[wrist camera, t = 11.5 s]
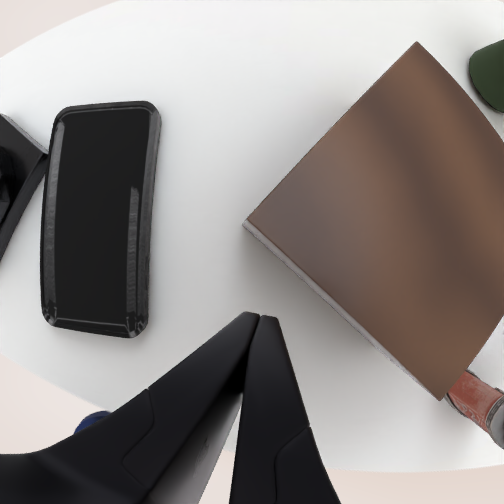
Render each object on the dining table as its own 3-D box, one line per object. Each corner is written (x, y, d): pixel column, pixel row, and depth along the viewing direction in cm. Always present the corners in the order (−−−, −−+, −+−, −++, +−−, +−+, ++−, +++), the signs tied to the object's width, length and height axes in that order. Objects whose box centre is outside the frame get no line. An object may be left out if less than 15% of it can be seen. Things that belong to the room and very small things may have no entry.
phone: (42, 324, 19) (56, 108, 18) (50, 320, 20) (63, 112, 19) (145, 340, 19) (161, 100, 18) (150, 335, 20) (165, 106, 19)
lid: (409, 47, 12) (417, 40, 11) (541, 223, 13) (550, 223, 12) (245, 220, 12) (246, 219, 12) (432, 395, 13) (440, 401, 13)
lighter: (490, 394, 22) (556, 438, 12) (468, 422, 22) (528, 473, 12) (456, 354, 22) (538, 401, 12) (430, 387, 22) (504, 447, 12)
